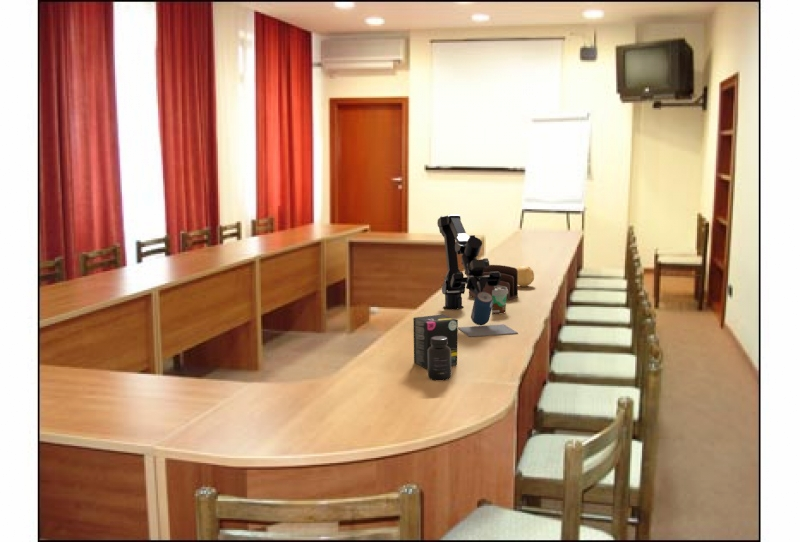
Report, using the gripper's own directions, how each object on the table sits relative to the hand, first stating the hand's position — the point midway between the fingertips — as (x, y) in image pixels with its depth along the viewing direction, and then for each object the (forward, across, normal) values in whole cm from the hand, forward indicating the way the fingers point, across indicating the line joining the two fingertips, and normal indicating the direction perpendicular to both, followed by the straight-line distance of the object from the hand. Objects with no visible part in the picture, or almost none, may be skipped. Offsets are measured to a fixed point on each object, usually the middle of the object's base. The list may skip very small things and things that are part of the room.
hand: (481, 297), depth 285 cm
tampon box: (+41, -30, -20) cm, 55 cm away
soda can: (+5, 0, +8) cm, 9 cm away
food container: (-10, +16, +24) cm, 30 cm away
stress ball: (-49, +48, +58) cm, 89 cm away
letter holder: (-34, +25, +45) cm, 61 cm away
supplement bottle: (+52, -33, -30) cm, 68 cm away
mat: (+13, 0, +4) cm, 13 cm away
